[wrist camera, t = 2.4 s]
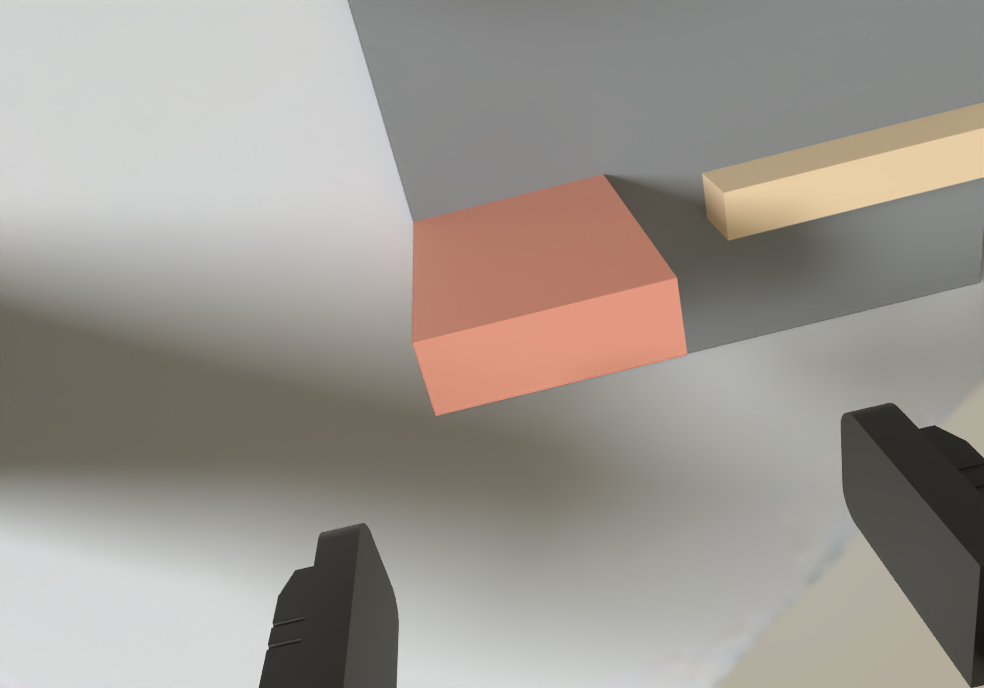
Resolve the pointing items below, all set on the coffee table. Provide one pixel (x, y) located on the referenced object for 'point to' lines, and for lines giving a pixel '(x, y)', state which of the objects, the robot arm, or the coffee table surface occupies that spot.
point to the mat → (710, 136)
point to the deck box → (538, 295)
